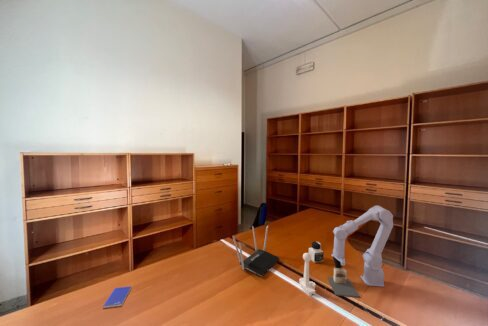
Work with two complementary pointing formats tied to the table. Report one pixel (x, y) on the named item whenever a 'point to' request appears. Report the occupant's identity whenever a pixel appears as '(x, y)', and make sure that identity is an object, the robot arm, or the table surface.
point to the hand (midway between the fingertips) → (338, 270)
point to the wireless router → (257, 258)
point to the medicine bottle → (316, 252)
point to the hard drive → (117, 297)
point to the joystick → (307, 277)
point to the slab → (340, 275)
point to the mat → (343, 288)
